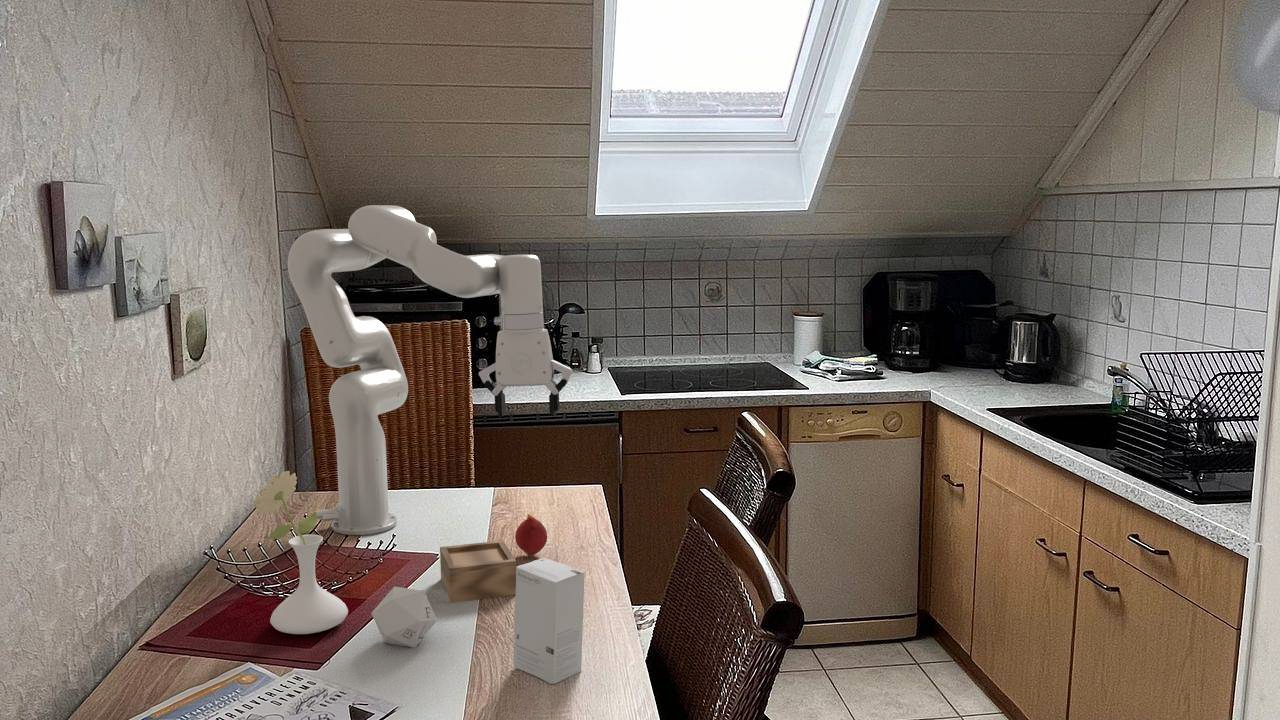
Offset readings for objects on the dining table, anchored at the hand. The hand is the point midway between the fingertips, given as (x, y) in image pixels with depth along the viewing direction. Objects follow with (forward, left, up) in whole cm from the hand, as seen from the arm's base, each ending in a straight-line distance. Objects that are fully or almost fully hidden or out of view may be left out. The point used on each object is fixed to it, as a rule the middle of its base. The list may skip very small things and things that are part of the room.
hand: (527, 415), depth 183 cm
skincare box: (-8, -49, -26) cm, 56 cm away
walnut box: (-12, -15, -26) cm, 32 cm away
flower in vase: (-40, -23, -26) cm, 53 cm away
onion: (0, -3, -26) cm, 26 cm away
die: (-26, -33, -26) cm, 50 cm away
